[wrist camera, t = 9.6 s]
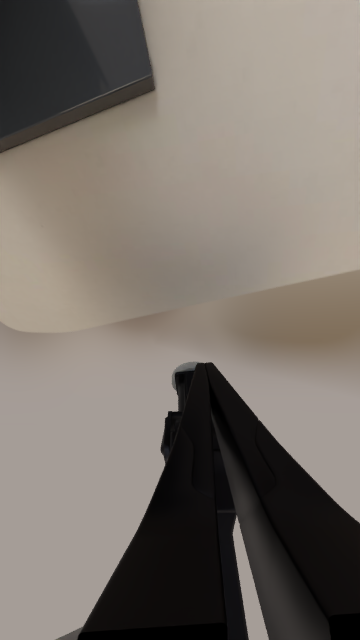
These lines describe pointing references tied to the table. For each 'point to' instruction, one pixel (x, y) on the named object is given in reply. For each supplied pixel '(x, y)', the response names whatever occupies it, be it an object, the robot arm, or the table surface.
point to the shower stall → (67, 63)
